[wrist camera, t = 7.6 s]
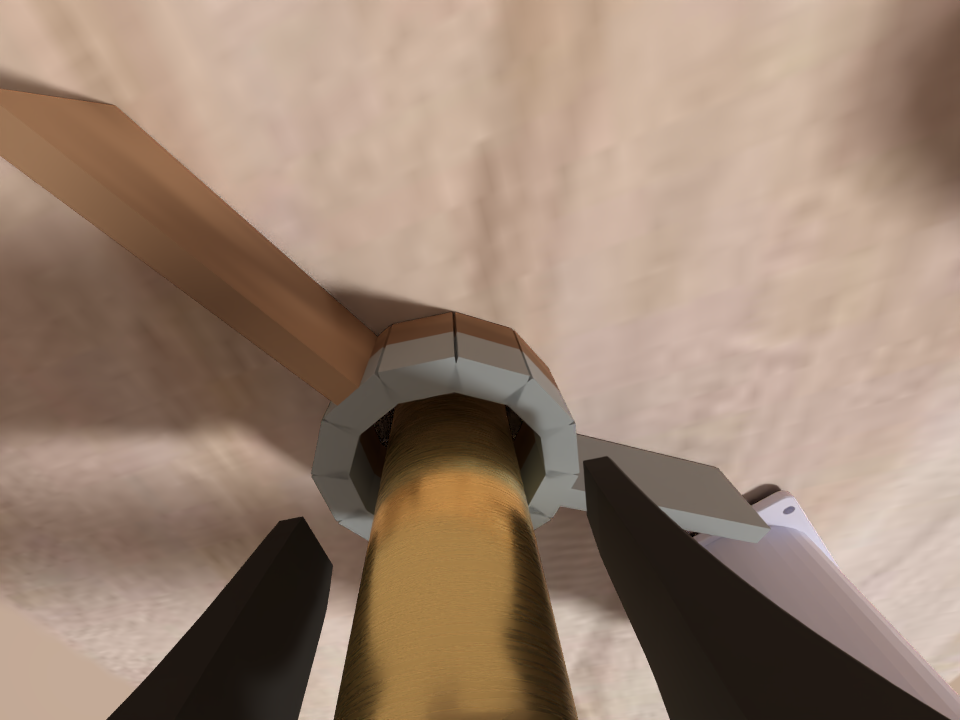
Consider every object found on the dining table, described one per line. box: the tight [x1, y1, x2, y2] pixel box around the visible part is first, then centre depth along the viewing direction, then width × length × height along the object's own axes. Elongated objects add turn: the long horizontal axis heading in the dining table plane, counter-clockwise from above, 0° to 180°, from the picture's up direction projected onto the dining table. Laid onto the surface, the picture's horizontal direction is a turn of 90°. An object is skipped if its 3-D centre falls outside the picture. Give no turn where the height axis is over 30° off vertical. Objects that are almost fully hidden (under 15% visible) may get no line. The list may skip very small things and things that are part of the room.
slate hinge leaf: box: [311, 332, 771, 543], centre depth 13 cm, size 14×10×3 cm
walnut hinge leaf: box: [0, 89, 559, 478], centre depth 11 cm, size 16×8×3 cm, turn 41°
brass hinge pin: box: [334, 392, 578, 720], centre depth 10 cm, size 4×4×9 cm
